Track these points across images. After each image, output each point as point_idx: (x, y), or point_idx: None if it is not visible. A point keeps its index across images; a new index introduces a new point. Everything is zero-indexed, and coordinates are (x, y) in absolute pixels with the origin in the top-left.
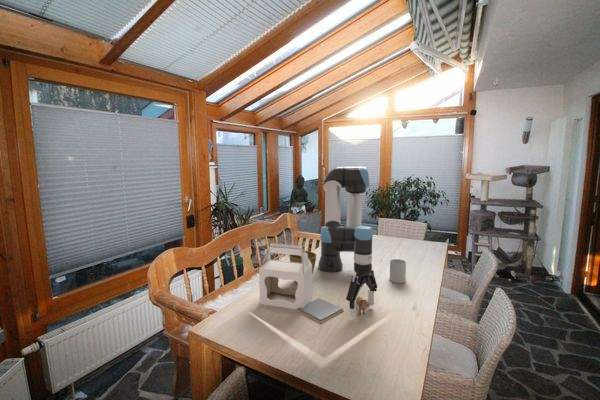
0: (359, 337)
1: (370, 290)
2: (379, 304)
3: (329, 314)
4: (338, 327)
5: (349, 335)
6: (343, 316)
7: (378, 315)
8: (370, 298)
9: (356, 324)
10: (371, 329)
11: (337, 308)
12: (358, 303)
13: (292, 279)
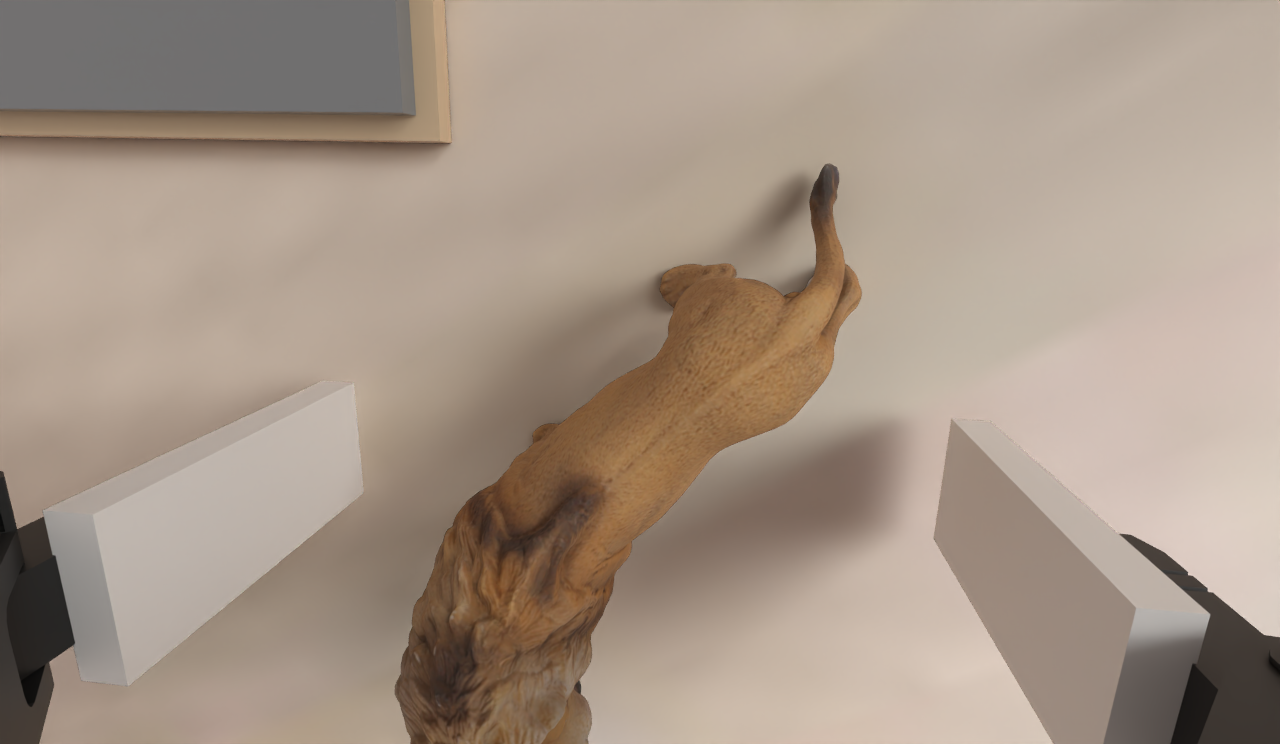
0: (104, 704)
1: (1167, 687)
2: (1190, 524)
3: (40, 86)
4: (29, 399)
5: None
6: (300, 265)
7: (751, 672)
8: (996, 556)
9: None
10: (344, 740)
11: (320, 36)
12: (536, 461)
13: None
